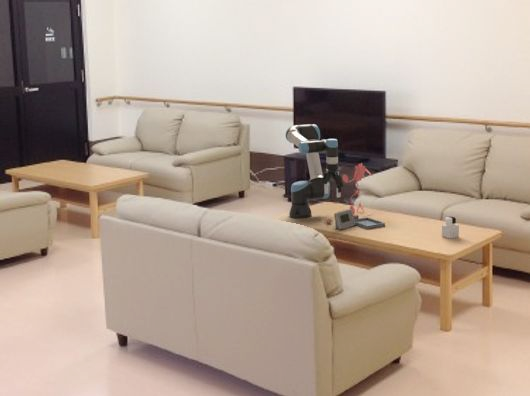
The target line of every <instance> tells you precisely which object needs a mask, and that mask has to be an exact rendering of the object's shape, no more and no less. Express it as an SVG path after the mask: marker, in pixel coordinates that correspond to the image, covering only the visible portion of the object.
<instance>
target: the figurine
mask: <svg viewBox="0 0 530 396" xmlns="http://www.w3.org/2000/svg"><path fill="white" fill-rule="evenodd" d="M365 173H367V174H368V175H370V176H372V174H371V172H370V171H369V170H368V169H367V168H366V166H365V165H363V163H362V162H361V163H358V165H355V166H354V174H353V178H352V179H351V180H349V177H348V175H347V174H345V173H343V175H342V182H344V183H345V184H349V183H351V182H352V181H355V183H356V188H357V190H355V194H353V195H352V196H350V198H352V197H354V196H355V195H359V197H361V194H360V190H359V184H358V182H361V181H362V179H364V178H365ZM350 204H351V205H350V206H349V209H351V210H352V213H353V214H355V213H356V212H359V209H361V210H362V212H365V209H364V208H363V206H362V204H361V202H359V203H358V207H357V209H356V211H355V208H354V206H353V201H352V199H350ZM355 215H356V214H355ZM372 215H373V213H371V214H368V215H367V217H369V216H372Z"/></svg>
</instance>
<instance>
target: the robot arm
mask: <svg viewBox="0 0 530 396" xmlns="http://www.w3.org/2000/svg"><path fill="white" fill-rule="evenodd" d="M285 139H286V140H287V141H288V142H289V143H291V144H294V145H295V146H296V147H298V151H299V153H300V154H305V157H306V162H307V167H308V171H309V177H310V179H309V180H299V181H295V182H293V183H292V184H291V188H290V193H291V206H290V210H289V212H288V213H289V217H290V218H293V219H294V218H295V219H305V218H310V217H312V209H311V207H310V204H309V203H310V202H309V201H313V200H314V201H315V200H324V199H327V198H329V196H330V193H331V184H330V182H329V181H330V179H331V178H332V179H333V180H334V182H335V185H336V198H341V195H342V187H344V183H343V179H342V177H341V171H338V169H339V143H338V141H339V140H338V139H337V138H328V139H324V138H323V139H321V131H320V128H319V126H318V125H317V124H314V123H313V124H311V123H308V124H294V125H291V126H290V127H289V128H287V130H286V132H285ZM320 139H321V140H320ZM319 153H325V154H326V155H325V158H326V160H325V161H326V162H325V163H326V164H325V165H326V168H325V169H324V173H323V170H322V164H321V159H320V154H319Z"/></svg>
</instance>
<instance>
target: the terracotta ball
mask: <svg viewBox="0 0 530 396" xmlns="http://www.w3.org/2000/svg"><path fill="white" fill-rule="evenodd" d="M325 221H326V223H327V224H329V225H330V224H331V223H332V222H333V220H332V218H330V217H328V218H326V220H325Z"/></svg>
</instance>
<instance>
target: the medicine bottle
mask: <svg viewBox="0 0 530 396" xmlns="http://www.w3.org/2000/svg"><path fill="white" fill-rule="evenodd" d="M456 219H457V218H456V217H455V216H446V217H445V220H444V221H445V224H441V225H442V226H441V237H442V238H445V237H446V238H445V239H450V240H451V239H456V238H458V237H460V233H459V231H460V225H459V224H457V222H456V221H457V220H456Z"/></svg>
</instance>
